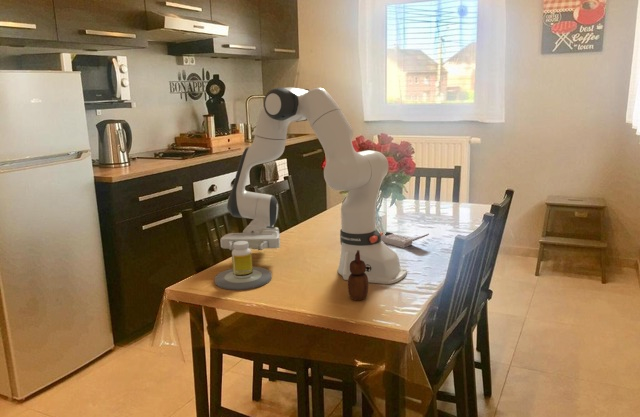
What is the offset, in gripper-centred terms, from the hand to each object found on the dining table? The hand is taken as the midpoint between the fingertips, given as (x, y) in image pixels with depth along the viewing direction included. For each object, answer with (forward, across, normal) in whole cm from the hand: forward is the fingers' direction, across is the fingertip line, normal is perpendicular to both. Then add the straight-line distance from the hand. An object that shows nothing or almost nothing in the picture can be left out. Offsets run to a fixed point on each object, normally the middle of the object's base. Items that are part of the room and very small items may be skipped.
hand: (245, 248), depth 175 cm
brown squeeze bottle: (+20, +38, +9) cm, 43 cm away
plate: (+6, 0, +9) cm, 10 cm away
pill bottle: (+6, 0, +8) cm, 10 cm away
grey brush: (-33, +50, +9) cm, 61 cm away
